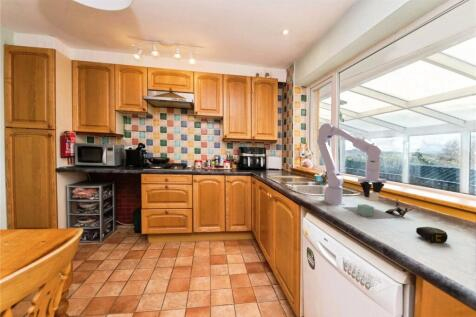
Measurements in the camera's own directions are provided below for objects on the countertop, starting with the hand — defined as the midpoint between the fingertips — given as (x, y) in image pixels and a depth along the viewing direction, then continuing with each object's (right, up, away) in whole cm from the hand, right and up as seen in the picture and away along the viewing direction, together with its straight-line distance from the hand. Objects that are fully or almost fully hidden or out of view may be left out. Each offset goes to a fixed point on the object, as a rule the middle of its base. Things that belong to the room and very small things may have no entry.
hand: (370, 197), depth 106 cm
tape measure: (-2, -8, -35) cm, 36 cm away
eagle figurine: (+8, -7, -7) cm, 13 cm away
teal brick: (-9, -6, -9) cm, 14 cm away
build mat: (-4, -7, -6) cm, 10 cm away
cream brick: (0, -1, 0) cm, 1 cm away
